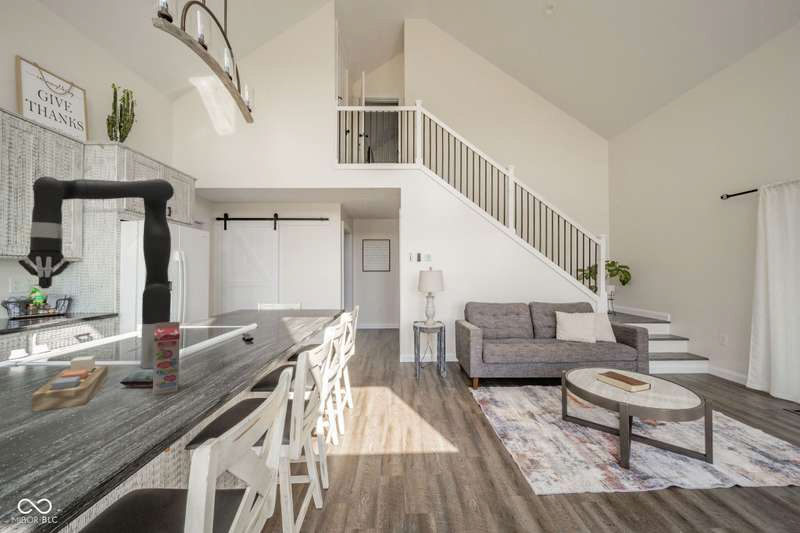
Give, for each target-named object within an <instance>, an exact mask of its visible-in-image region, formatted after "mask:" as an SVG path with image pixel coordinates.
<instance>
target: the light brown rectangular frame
mask: <svg viewBox="0 0 800 533" xmlns="http://www.w3.org/2000/svg"><path fill="white" fill-rule="evenodd" d="M108 366H109V365H99V366H95V368H94V369H93V370H92V371H89V372H88V377H87V378H86V379H85V380H80V385H79V386H78V387H76V388H67V389H59V390H51V384H52V383H53V382H54V381H55V380H57V379H59V378H61V377H62V375H63V374H64V373H66V372H67V371H70V368H67V369H64V370H63V371H61V373H59V374H57V375H56V376H55V377H53V378H52V379H50V380H49V381H48V382H47V383H46V384H44V385H43V386H42V387H41V388H39V389H37V390H36V391H35V392H34V393H33V394H32V395H31V396H32V398H31V403H32V404H31V412H33V413H34V412H42V411H47V410H48V411H49V410H54V409H55V410H56V409H63V408H71V407H78V406H83V405H87V404H88V402H89V401H90V400H91V399H92V398H93V397H94V396H95V394H96V393H97V392H98V391H99V389H100V388H102V386H103V385H104V383H105V382H106V381H107V380H108V374H109V373H108V371H109V369H108V368H109V367H108Z"/></svg>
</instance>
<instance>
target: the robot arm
mask: <svg viewBox="0 0 800 533" xmlns="http://www.w3.org/2000/svg"><path fill="white" fill-rule="evenodd" d="M32 190H33V203H34V204H33V208H32V213H31V227H30V233H29V236H30V237H29V238H30V239H29V240H30V242H29V253H28V254H27V256H26V257H25V258H23V259H19V260H18V262H17V263H18V264H19V265H20V266H22V267H23V268H24V270H25V271H27V272H28V273H29V274H30V275H31V276H36V277H38V287H40V288H41V289H43V290H44V289H45V290H46V289H50V287H52V286H53V278H54V277H57V276H60V275H61V274H62V273H63V272H64V271H65V270H66V269H67V268H69V267H70V266H71V264H72V261H71V260H68V259H66V258H65V256H64V255H63V213H62V212H63V211H62V210H63V209H62V207H63V201H67V200H114V199H115V200H116V199H129V198H130V199H132V198H137V199H143V200H142V201H143V208H144V221H143V236H142V238H143V239H142V242H143V243H142V248H143V249H142V250H143V251H142V252H143V258H144V260H143V261H144V264H145V270H146V274H145V275H146V276H145V284H144V290H143V291H142V307H141V340H140V341H141V345H140V346H141V348H140V367H141V368H143V369H152V368H153V369H154V341H155V340H154V337H155V323H164V322H171V306H172V305H171V304H172V302H171V301H172V293H171V289H170V284H169V274H168V272H169V264H170V259H171V250H172V236H171V230H170V226H169V223H168V221H167V205H168V204H167V203H168V201H170V200H171V199H172V198H173V197H174V193H175V189H174V187H173V185H172V184H171V183H170V182H169V181H167V180H164V179H163V178H162V179H161V178H154V179H147V180H145V179H144V180H127V181H126V180H125V181H124V180H109V179H108V180H105V179H104V180H103V179H88V178H87V179H84V178H83V179H82V178H81V179H80V178H79V179H73V180H59V179H57V178H55V177H52V176H47V175H45V176H40V177H38V178H36V179H35V181H34V182H33V185H32ZM31 264H33V265H34V266H36V269H35V268H34V266H32V265H31ZM58 264H60V266H59V267H58V268H56V269H55V267H56V266H58Z"/></svg>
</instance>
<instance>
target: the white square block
mask: <svg viewBox="0 0 800 533" xmlns="http://www.w3.org/2000/svg"><path fill="white" fill-rule="evenodd" d="M69 365H70V368H69V369H70V371H76V370H87V369H88V372H89V371H92V370H93V369H94V368H95V367H96V356H95V355H88V356H78V357H74V358H73V359H71V360H70V364H69Z"/></svg>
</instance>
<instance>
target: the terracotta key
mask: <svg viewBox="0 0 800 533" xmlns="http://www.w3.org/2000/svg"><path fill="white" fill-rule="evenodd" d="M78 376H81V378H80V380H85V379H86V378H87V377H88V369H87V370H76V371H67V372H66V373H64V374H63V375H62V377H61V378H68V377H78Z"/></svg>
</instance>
